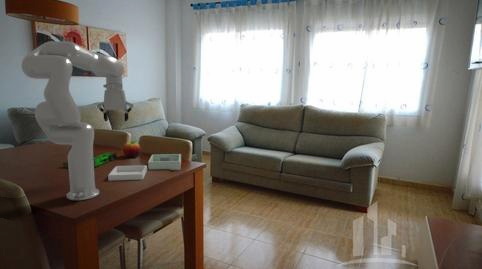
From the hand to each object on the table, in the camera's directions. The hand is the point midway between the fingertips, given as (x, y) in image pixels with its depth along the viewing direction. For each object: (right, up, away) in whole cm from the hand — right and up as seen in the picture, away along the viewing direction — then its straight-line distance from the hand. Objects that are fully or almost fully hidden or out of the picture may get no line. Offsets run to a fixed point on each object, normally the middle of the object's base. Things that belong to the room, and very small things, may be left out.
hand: (116, 120), depth 158 cm
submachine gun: (-28, -25, +25) cm, 44 cm away
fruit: (-6, -22, +42) cm, 48 cm away
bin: (+20, -25, +21) cm, 39 cm away
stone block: (+20, -25, +21) cm, 38 cm away
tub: (+6, -29, +1) cm, 29 cm away
